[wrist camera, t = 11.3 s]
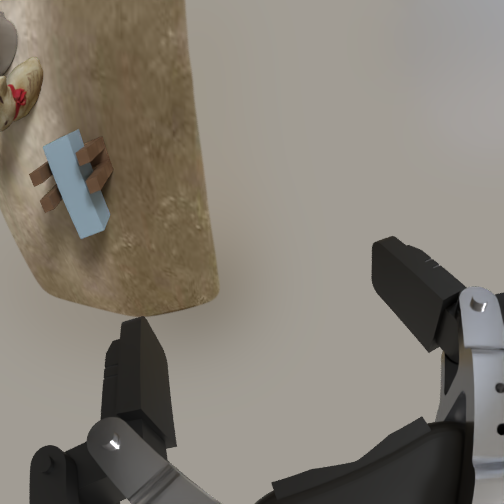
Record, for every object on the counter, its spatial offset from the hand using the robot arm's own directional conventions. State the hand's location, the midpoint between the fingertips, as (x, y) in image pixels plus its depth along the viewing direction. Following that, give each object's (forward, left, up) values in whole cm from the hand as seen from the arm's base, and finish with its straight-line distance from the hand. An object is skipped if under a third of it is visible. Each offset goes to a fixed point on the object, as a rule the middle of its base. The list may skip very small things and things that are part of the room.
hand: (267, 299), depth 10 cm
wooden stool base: (-2, -14, -30) cm, 33 cm away
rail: (-1, -14, -28) cm, 31 cm away
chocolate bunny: (-14, -18, -30) cm, 38 cm away
